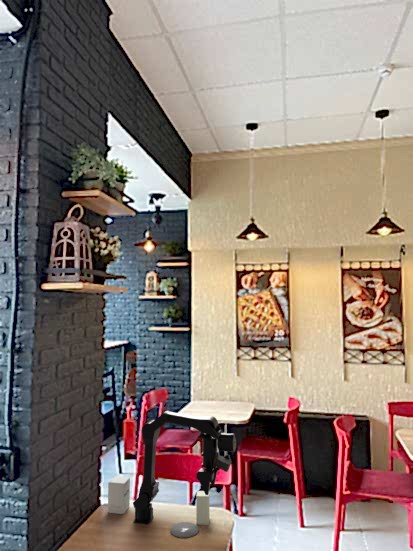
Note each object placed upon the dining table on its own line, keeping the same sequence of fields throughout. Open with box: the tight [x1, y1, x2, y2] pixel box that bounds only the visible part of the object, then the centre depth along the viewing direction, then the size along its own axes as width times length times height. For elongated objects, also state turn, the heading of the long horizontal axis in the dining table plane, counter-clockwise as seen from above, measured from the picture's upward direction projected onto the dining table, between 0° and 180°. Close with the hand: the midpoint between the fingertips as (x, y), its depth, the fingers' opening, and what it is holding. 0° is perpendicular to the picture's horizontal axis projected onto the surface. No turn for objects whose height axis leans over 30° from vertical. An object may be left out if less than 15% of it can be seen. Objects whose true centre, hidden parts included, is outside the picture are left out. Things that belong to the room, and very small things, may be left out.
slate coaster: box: [169, 521, 200, 539], centre depth 175 cm, size 11×11×1 cm
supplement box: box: [107, 476, 131, 515], centre depth 193 cm, size 7×7×13 cm
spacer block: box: [195, 490, 211, 526], centre depth 182 cm, size 5×5×11 cm
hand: (210, 490), depth 177 cm, fingers open, 9 cm apart
